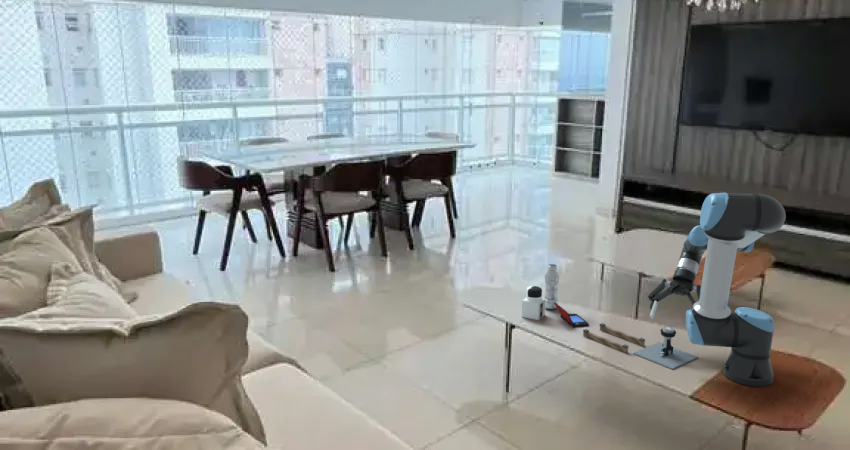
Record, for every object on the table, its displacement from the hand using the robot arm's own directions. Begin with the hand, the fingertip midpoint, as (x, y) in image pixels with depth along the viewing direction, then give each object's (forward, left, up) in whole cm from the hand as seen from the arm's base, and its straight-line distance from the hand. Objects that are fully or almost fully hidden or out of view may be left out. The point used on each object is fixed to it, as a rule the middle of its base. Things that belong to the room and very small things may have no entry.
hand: (669, 321), depth 224 cm
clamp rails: (+18, +8, -12) cm, 23 cm away
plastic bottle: (+57, +1, -12) cm, 59 cm away
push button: (-1, +4, -12) cm, 12 cm away
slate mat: (-2, +4, -12) cm, 13 cm away
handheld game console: (+42, +6, -12) cm, 44 cm away
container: (+55, +14, -12) cm, 58 cm away
